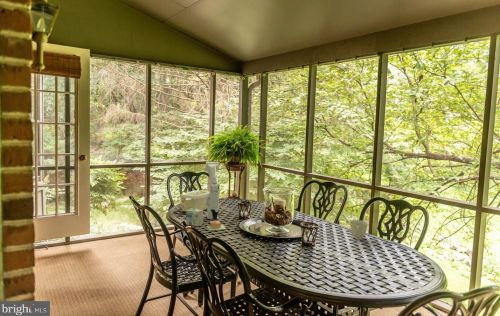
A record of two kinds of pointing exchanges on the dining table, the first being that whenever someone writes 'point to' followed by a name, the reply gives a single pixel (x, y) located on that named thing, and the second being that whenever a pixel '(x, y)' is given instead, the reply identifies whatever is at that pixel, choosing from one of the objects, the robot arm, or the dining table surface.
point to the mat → (215, 228)
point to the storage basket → (194, 200)
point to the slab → (215, 224)
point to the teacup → (358, 228)
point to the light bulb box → (194, 217)
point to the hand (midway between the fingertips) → (214, 219)
